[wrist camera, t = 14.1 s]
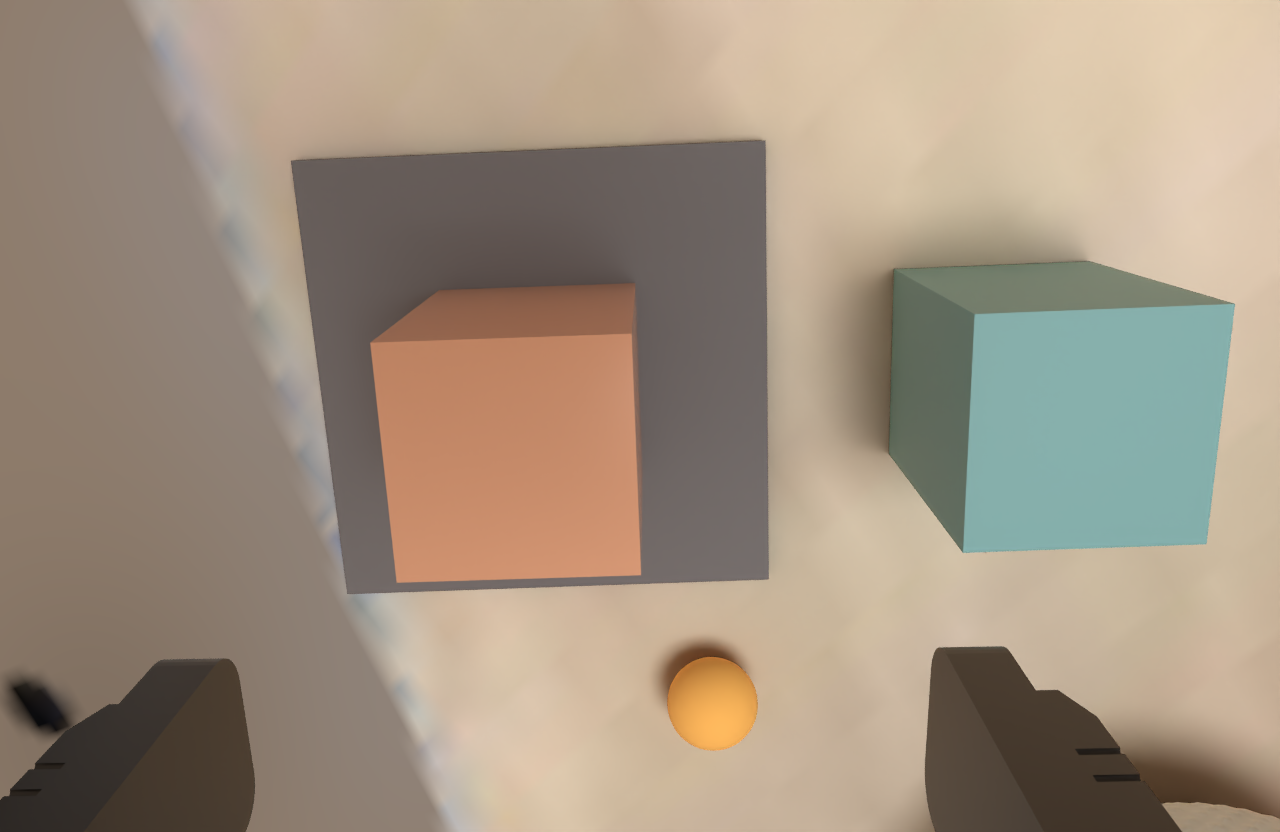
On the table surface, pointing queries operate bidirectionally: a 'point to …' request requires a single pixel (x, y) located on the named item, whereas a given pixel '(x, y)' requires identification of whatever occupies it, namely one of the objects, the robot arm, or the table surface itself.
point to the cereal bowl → (1219, 818)
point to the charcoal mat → (560, 256)
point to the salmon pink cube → (513, 434)
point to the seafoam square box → (1058, 404)
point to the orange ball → (712, 703)
